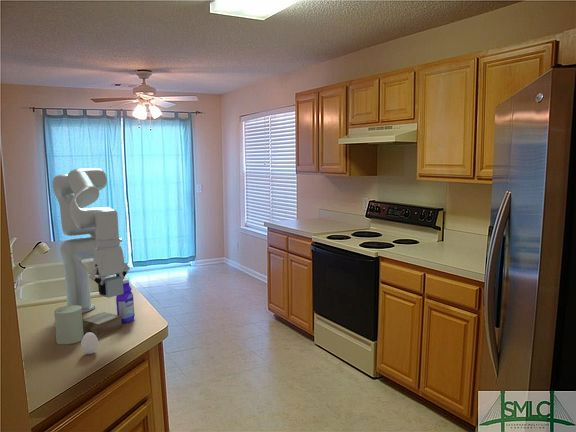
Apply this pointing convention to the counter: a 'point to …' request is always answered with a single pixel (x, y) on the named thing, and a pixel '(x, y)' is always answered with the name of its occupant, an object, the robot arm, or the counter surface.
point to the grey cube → (113, 286)
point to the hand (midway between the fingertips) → (111, 291)
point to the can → (69, 324)
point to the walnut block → (102, 323)
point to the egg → (89, 343)
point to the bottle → (125, 303)
